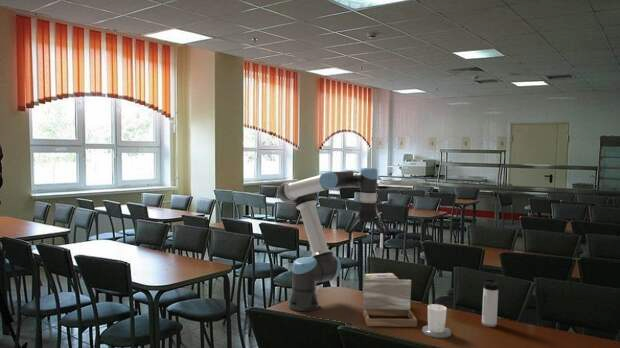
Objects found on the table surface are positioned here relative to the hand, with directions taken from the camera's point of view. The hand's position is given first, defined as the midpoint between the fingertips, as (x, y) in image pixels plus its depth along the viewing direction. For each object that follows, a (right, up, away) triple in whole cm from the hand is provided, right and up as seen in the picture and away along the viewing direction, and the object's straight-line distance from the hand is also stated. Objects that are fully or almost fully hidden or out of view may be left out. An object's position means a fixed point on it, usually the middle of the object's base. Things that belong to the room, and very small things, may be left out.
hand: (366, 247), depth 214 cm
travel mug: (+55, -35, -3) cm, 65 cm away
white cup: (+28, -34, -13) cm, 46 cm away
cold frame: (+10, -33, -1) cm, 35 cm away
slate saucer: (+29, -34, -13) cm, 47 cm away
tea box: (+10, -32, +21) cm, 40 cm away
